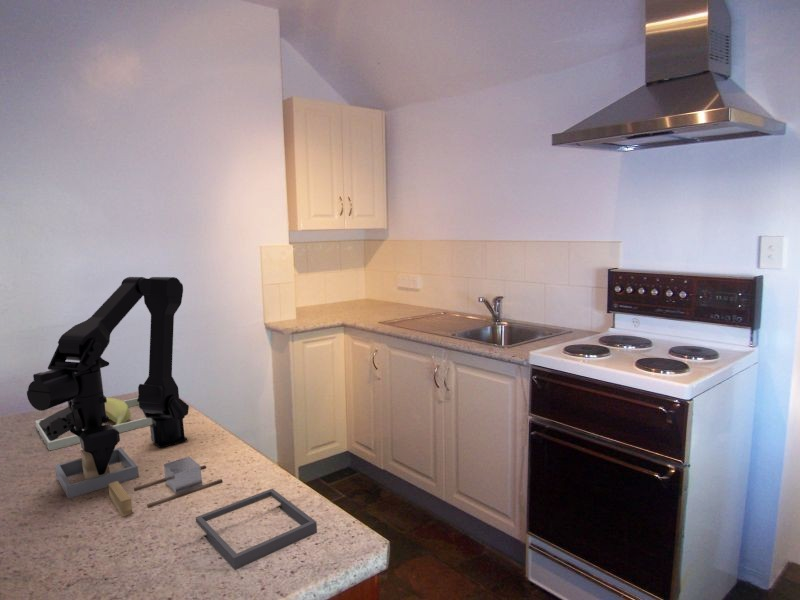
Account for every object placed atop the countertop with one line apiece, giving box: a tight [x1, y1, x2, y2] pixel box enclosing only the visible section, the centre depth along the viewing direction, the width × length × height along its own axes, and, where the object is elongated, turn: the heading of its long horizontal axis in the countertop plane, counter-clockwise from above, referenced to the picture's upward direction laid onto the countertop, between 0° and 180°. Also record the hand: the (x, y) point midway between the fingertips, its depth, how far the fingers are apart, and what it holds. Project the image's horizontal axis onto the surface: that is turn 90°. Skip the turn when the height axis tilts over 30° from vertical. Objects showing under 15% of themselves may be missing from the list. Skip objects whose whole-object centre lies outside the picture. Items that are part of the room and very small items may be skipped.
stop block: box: [80, 449, 110, 480], centre depth 114 cm, size 4×4×6 cm
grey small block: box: [163, 456, 203, 495], centre depth 109 cm, size 5×6×4 cm
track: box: [108, 464, 224, 517], centre depth 107 cm, size 21×9×4 cm, turn 130°
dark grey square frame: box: [195, 488, 318, 571], centre depth 95 cm, size 15×16×2 cm
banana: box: [105, 397, 132, 425], centre depth 145 cm, size 14×6×20 cm
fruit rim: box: [35, 397, 152, 452], centre depth 146 cm, size 26×20×2 cm
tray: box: [54, 447, 140, 499], centre depth 114 cm, size 13×13×4 cm
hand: (96, 466), depth 114 cm, fingers open, 9 cm apart
